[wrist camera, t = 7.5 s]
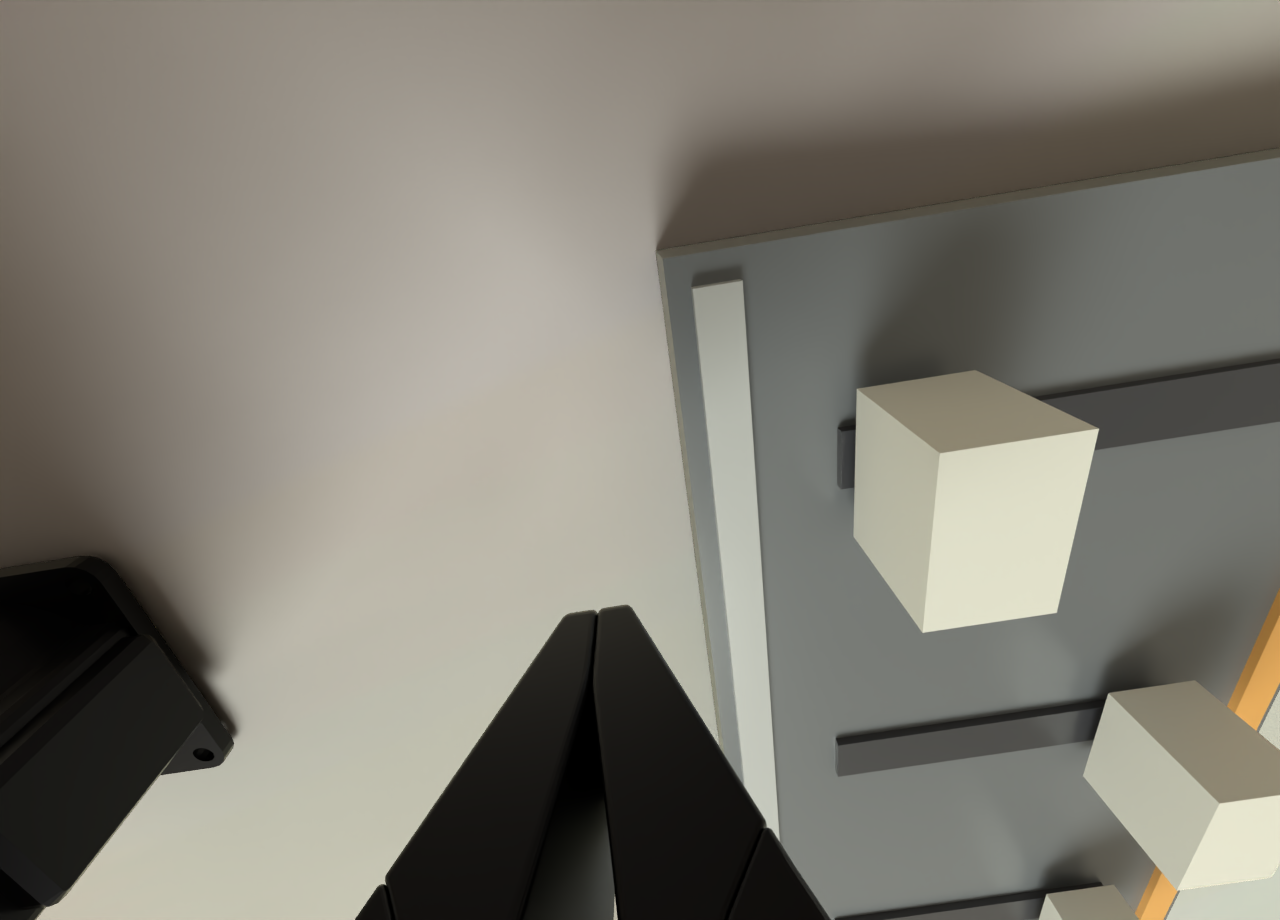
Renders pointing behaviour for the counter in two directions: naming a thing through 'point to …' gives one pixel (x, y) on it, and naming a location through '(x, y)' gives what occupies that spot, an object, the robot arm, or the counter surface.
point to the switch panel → (1101, 551)
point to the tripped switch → (968, 496)
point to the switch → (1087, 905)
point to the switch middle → (1189, 784)
